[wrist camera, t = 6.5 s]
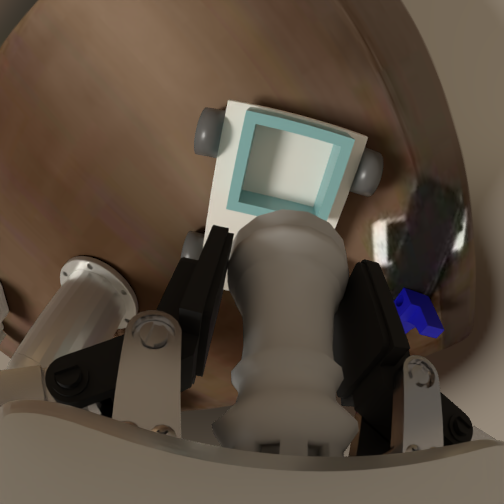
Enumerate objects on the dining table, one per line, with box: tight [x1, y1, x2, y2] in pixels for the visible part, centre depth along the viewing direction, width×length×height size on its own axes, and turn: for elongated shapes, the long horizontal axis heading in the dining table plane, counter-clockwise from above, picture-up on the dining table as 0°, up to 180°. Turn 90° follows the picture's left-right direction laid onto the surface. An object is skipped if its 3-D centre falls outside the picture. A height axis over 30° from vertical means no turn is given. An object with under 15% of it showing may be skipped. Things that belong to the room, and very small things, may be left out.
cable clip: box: [394, 288, 444, 338], centre depth 33 cm, size 12×4×6 cm, turn 162°
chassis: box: [181, 99, 383, 291], centre depth 25 cm, size 18×15×6 cm
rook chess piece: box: [212, 209, 359, 457], centre depth 8 cm, size 4×4×8 cm
